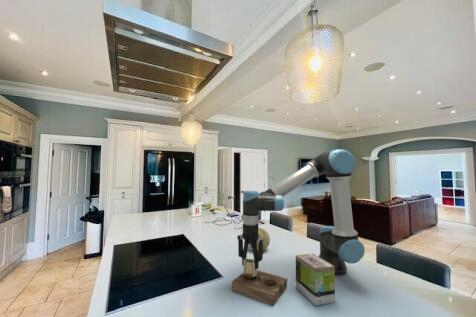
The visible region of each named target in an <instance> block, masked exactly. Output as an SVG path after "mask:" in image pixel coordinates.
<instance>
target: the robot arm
mask: <svg viewBox="0 0 476 317" xmlns="http://www.w3.org/2000/svg"><path fill="white" fill-rule="evenodd" d="M355 167H356V159H355V156H354V155H353V154H352V153H351V152H350V151H348V150H346V149H332V150H329V151H328V150H327V151H324V152H322V153H320V154H318V155H317V156H315V157H314V158H312V159H311V160H309V161H308V162H306V165H305V166H303V167H302V168H300V169H298V170H297V171H295V172H294V173H292V174H290V175H289V176H287V177H286V178H284V179H282V180H281V181H279V182H278V183H276V184H274V185H273V186H271V187H270V188H268V189H266V190H265V191H260V192H259V191H258V190H244V192H243V195H242V223H243V224H242V234H239V235H237V241H238V243H237V244H238V245H237V248H238V252H237V254H238V257H239V258H241V265H242V266H243V272H244V274H245V271H246V260H247V259H249V258H248V256H247V254H248V251H249V246H250V245H249V244H251V247H252V248H251V247H250V248H251V250H252V255H253V260H254V262H253V277H255V276H256V275H257V270H258V269H259V267H260V266H259V263H260V262H262V261H263V258H264V256H263V253H264V250H263V243H264V239H261V238H259V235H258V228H260V227H259V223H260V222H259V218H260V217H259V215H260V214H259V212H282V211H283V210H284V209H285V208H284V207H285V200H284V197H285V196H286V195H287V194H289V193H291V192H293V191H294V190H296V189H297V188H299V187H301V186H302V185H305V183H307V182H308V181H310V180H311V179H313V178H319V177H320V176H322V175H325V178H326V179H327V180H328V181H329V186H330V196H331V205H332V206H331V207H332V215H333V217H332V218H333V226H332V225H325V226H324V225H323V226H321V227H320V228H319V255H318V257H320V258H322V259H323V260H325V261H327V262H329V263H330V264H332V265H334V266H335V277H336V276H339V277H340V276H345V275H346V274H347V273H348V268H347V265H346V263H347V264H358V263H359V262H360V261H361V259H363V257H364V256H365V253H366V252H365V250H366V249H365V246H364V244H363V243H362V242H361V241H360V240H359V233H358V231H357V230H356V229H355V228H354V219H353V210H352V209H353V208H352V201H351V199H352V198H351V190H350V183H349V180H350V179H351V178H352V176H353V175H352V174H353V173H352V172H353V170H354V169H355ZM257 240H258V243H259V245H258V251H257Z"/></svg>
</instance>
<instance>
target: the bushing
mask: <svg viewBox="0 0 476 317" xmlns="http://www.w3.org/2000/svg"><path fill="white" fill-rule="evenodd" d="M253 262H254V258H253V259H252V258H248V259H247V260H246V271H245V279H246V280H255V277H253Z"/></svg>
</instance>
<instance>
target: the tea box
mask: <svg viewBox="0 0 476 317" xmlns="http://www.w3.org/2000/svg"><path fill="white" fill-rule="evenodd" d="M335 277H336V276H335V266H334V265H332V264H330V263H329V262H327V261H325V260H323V259H322V258H320V257H319V255H316V254H314V253H306V254H296V255H295V288H297V289H298V290H299V291H300V292H301V293H302V295H304V296H305V297H306V298H307V299H308V300H309V301H311V303H312V304H313V305H314V306H321V305H327V304H332V303H335V301H336V290H335V289H336V286H335V284H336V281H335V280H336V278H335Z"/></svg>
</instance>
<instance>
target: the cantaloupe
mask: <svg viewBox="0 0 476 317" xmlns="http://www.w3.org/2000/svg"><path fill="white" fill-rule="evenodd" d="M258 235H259V238H261V239H264V243H263V251H264V250H266V249H267V248H268V247H269V246H270V243H271V240H270V235H269V233H268V232H267V231H266V230H265V229H264V228H261V227H258ZM258 245H259V243H258V240H257V251H258ZM249 246H250V248H251V249H252V247H251V244H249Z"/></svg>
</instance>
